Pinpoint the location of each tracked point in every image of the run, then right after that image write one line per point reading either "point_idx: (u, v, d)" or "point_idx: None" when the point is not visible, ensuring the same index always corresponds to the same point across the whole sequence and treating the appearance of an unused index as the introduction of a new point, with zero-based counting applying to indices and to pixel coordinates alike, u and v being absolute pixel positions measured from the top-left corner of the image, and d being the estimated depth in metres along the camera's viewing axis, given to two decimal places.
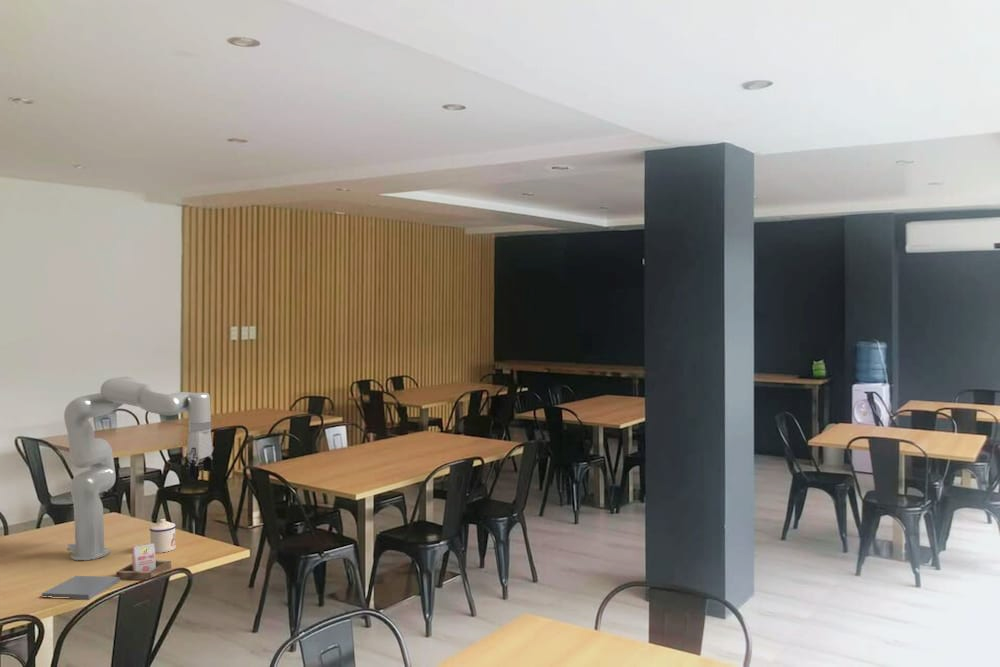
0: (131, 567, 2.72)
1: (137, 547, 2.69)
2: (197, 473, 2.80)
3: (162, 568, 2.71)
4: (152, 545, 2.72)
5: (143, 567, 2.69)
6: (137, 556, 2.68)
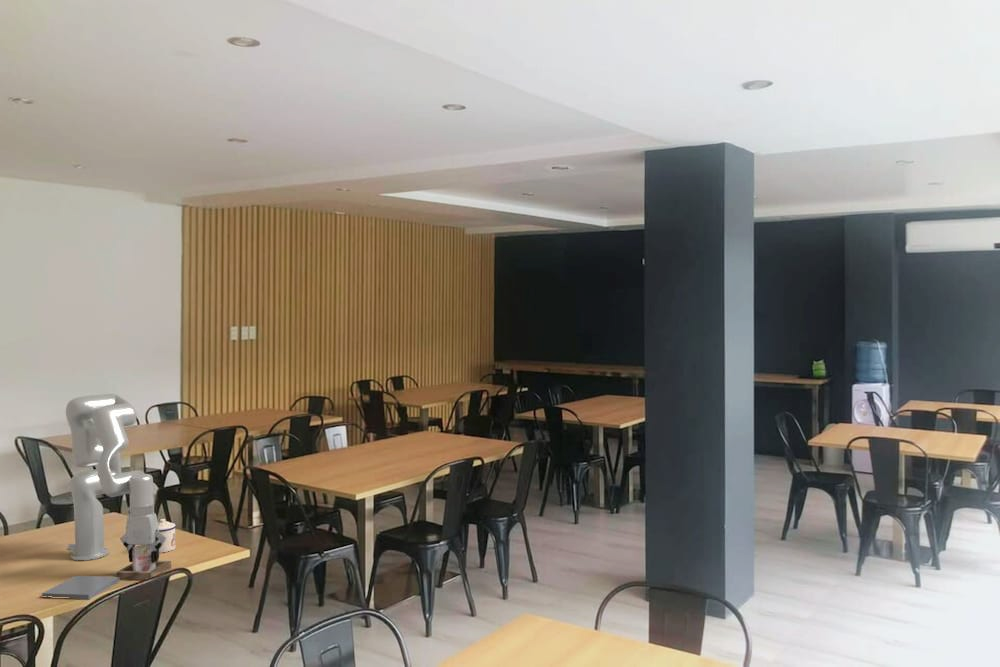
0: (131, 567, 2.72)
1: (137, 547, 2.69)
2: None
3: (162, 568, 2.71)
4: None
5: (143, 567, 2.69)
6: (137, 556, 2.68)
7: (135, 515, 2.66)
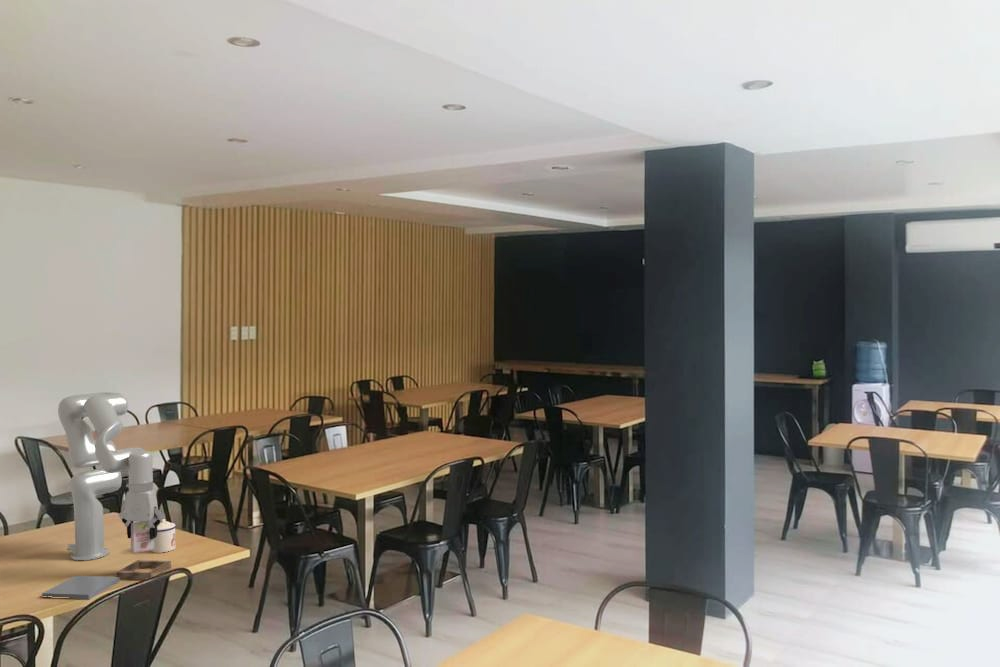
0: (131, 567, 2.72)
1: (135, 523, 2.69)
2: None
3: (162, 568, 2.71)
4: None
5: (141, 543, 2.69)
6: (135, 533, 2.68)
7: (134, 491, 2.66)
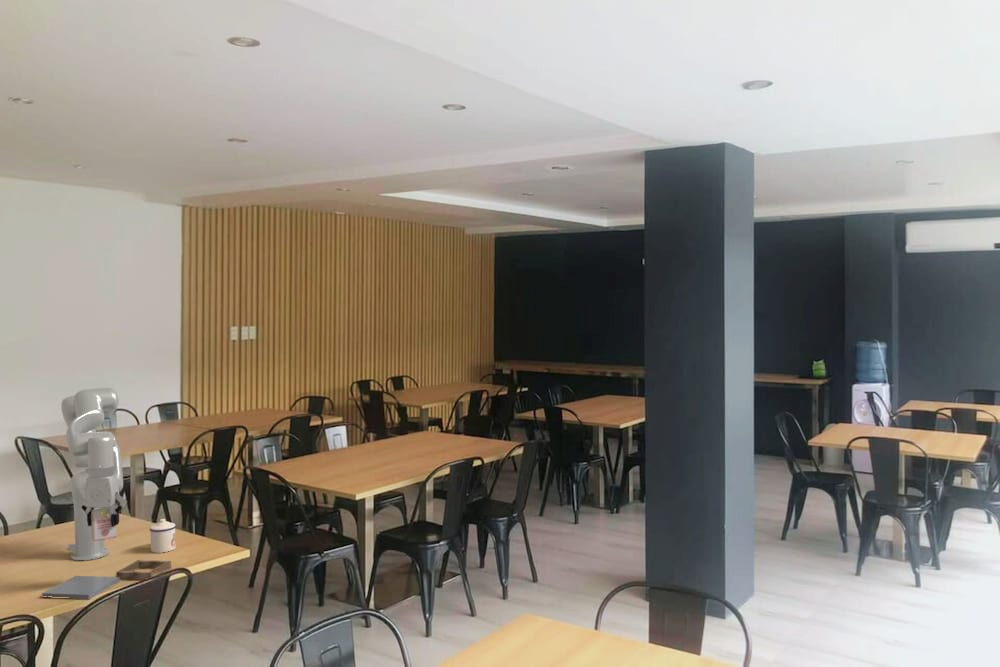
0: (131, 567, 2.72)
1: (96, 510, 2.59)
2: None
3: (162, 568, 2.71)
4: None
5: (102, 531, 2.59)
6: (96, 520, 2.59)
7: (94, 477, 2.57)
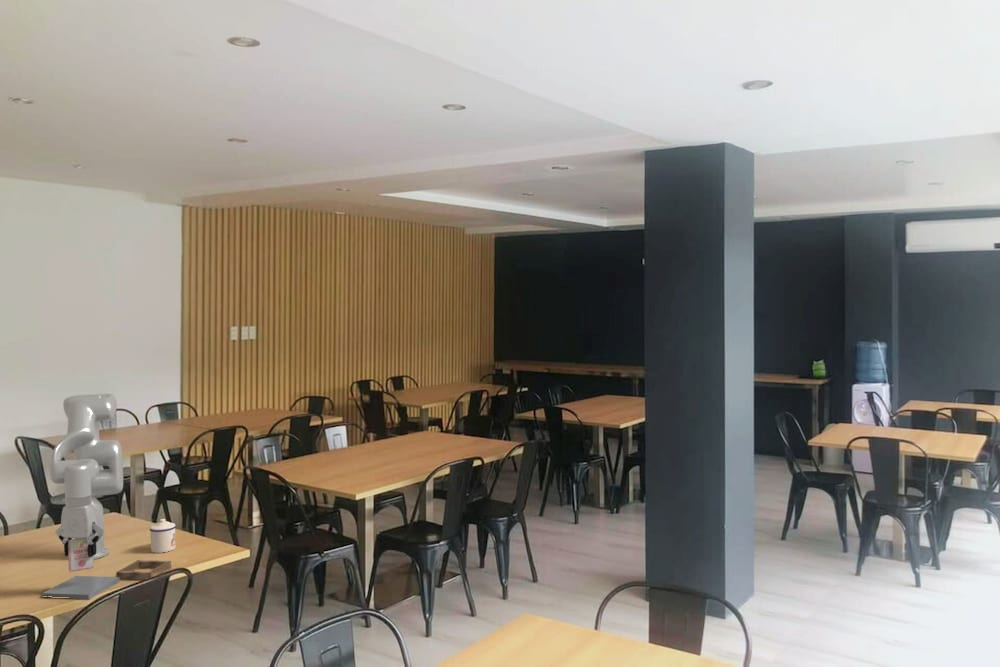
0: (131, 567, 2.72)
1: (73, 540, 2.55)
2: None
3: (162, 568, 2.71)
4: None
5: (79, 561, 2.54)
6: (73, 550, 2.54)
7: (70, 506, 2.52)
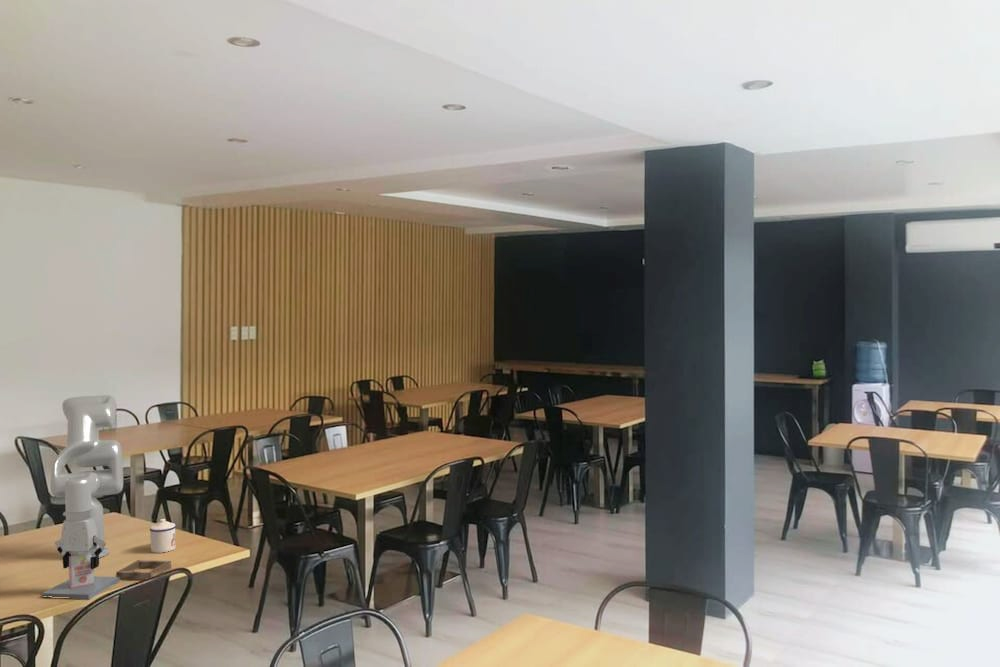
0: (131, 567, 2.72)
1: (74, 557, 2.55)
2: None
3: (162, 568, 2.71)
4: (90, 554, 2.58)
5: (80, 578, 2.55)
6: (74, 566, 2.54)
7: (71, 520, 2.52)
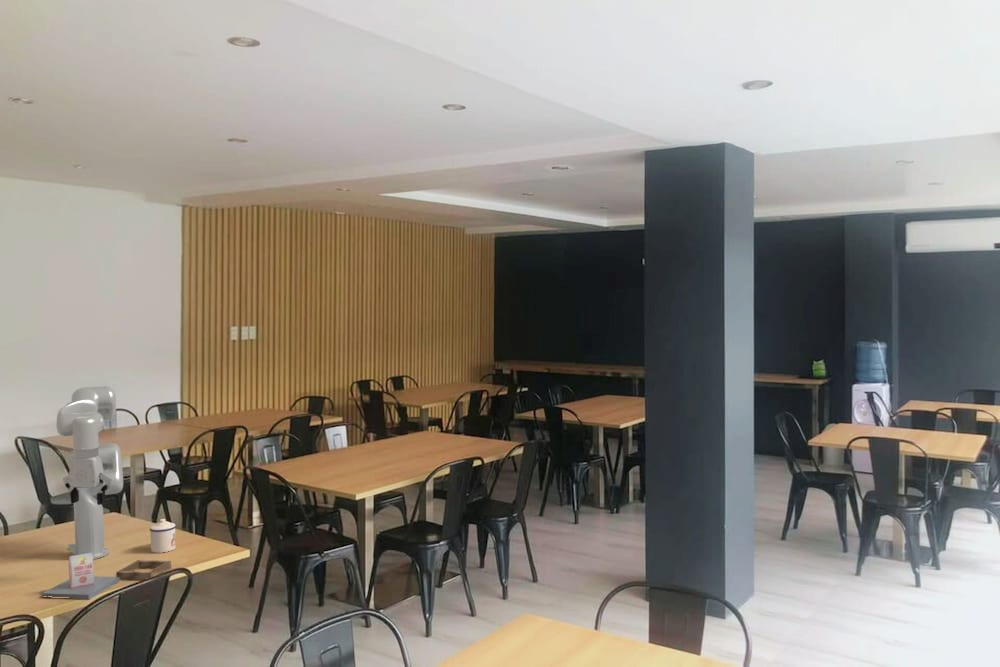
0: (131, 567, 2.72)
1: (74, 557, 2.55)
2: None
3: (162, 568, 2.71)
4: (90, 554, 2.58)
5: (80, 578, 2.55)
6: (74, 566, 2.54)
7: (78, 458, 2.61)
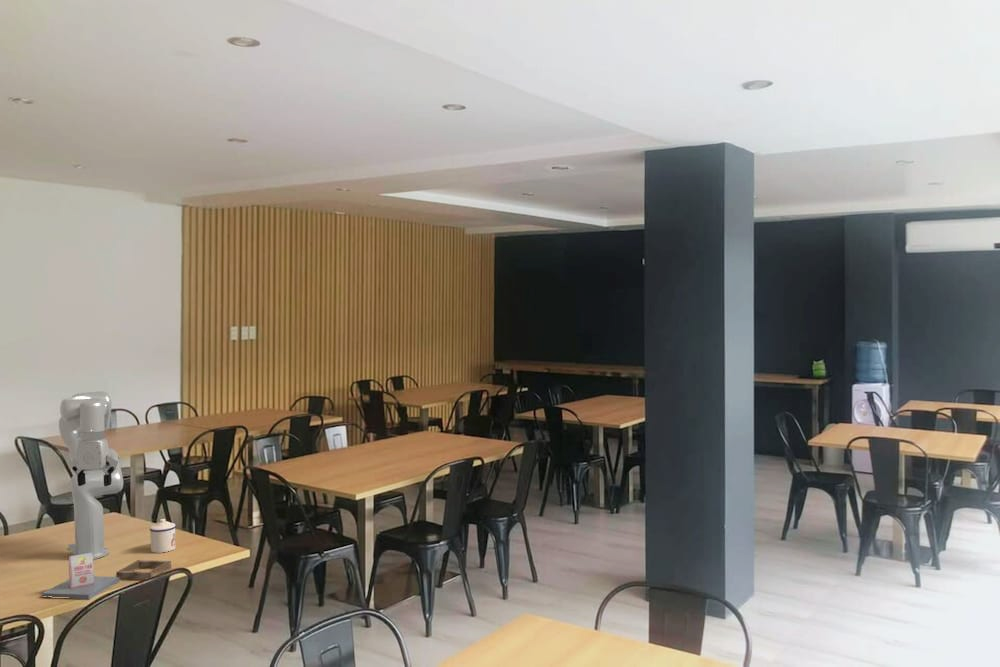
0: (131, 567, 2.72)
1: (74, 557, 2.55)
2: None
3: (162, 568, 2.71)
4: (90, 554, 2.58)
5: (80, 578, 2.55)
6: (74, 566, 2.54)
7: (85, 440, 2.69)
